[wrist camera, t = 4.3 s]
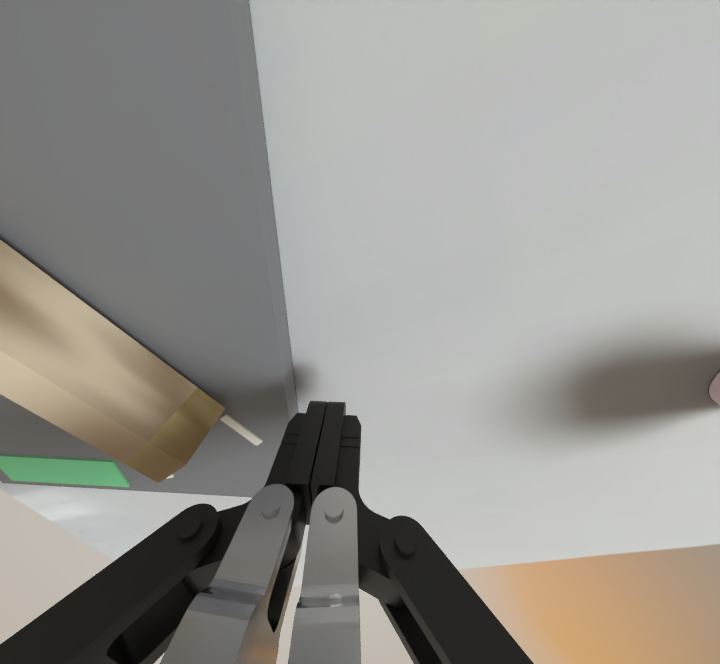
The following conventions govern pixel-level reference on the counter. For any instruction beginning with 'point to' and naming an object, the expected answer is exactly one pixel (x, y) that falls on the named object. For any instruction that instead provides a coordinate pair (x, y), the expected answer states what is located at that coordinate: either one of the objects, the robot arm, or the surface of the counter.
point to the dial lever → (94, 375)
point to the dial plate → (148, 219)
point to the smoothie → (715, 389)
